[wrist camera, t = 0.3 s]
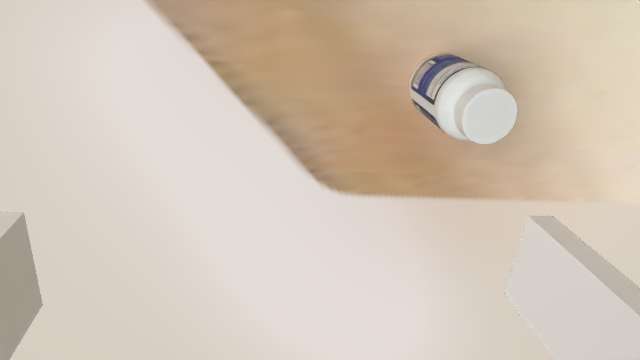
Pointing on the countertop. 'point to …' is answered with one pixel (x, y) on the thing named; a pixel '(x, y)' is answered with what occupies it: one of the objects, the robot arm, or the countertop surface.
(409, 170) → the countertop surface
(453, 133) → the pill bottle
